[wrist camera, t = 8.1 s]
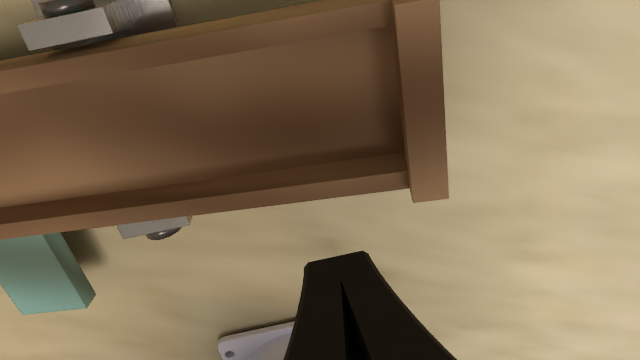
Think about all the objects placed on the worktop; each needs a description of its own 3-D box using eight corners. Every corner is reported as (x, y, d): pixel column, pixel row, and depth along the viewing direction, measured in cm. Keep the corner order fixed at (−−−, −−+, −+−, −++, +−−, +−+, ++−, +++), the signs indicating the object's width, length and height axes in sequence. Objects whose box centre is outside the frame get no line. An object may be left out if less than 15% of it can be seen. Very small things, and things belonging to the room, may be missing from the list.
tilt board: (439, 258, 17) (454, 313, 15) (-17, 306, 20) (-67, 359, 18) (421, -19, 12) (438, -3, 10) (-179, 93, 15) (-278, 127, 13)
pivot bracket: (229, 182, 19) (221, 232, 16) (130, 203, 19) (102, 258, 16) (159, -33, 15) (130, -24, 12) (32, -7, 15) (-33, 10, 12)
